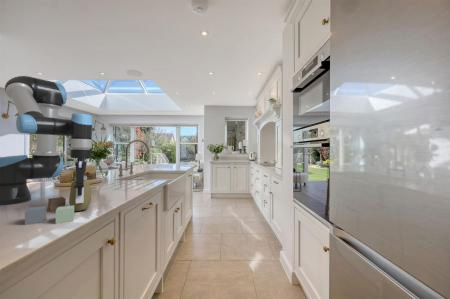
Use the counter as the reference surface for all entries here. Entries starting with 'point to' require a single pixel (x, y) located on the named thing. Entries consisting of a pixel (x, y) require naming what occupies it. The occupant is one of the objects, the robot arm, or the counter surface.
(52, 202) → the walnut cube
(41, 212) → the blue-grey cube
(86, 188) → the squeeze bottle
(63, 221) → the sage cube
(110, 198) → the counter surface
